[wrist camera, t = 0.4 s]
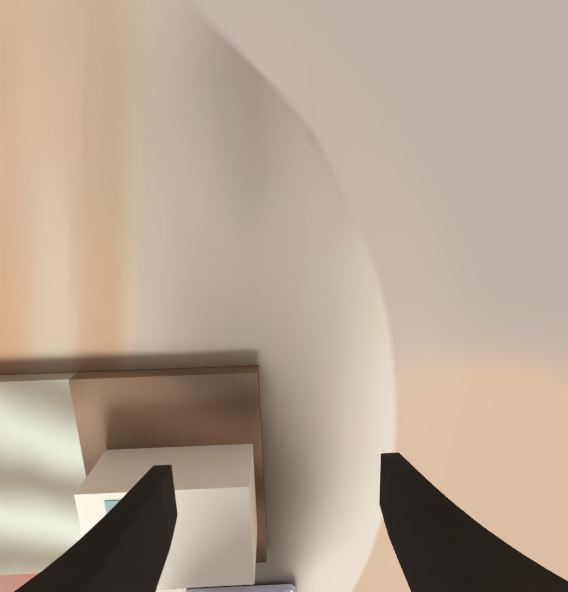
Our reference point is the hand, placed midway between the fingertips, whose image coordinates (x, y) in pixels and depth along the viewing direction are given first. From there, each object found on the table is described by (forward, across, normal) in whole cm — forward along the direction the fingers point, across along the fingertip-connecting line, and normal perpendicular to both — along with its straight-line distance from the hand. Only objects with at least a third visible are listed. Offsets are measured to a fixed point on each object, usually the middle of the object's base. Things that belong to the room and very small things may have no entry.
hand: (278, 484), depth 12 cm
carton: (+9, +6, +8) cm, 13 cm away
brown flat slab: (+10, +12, +7) cm, 17 cm away
